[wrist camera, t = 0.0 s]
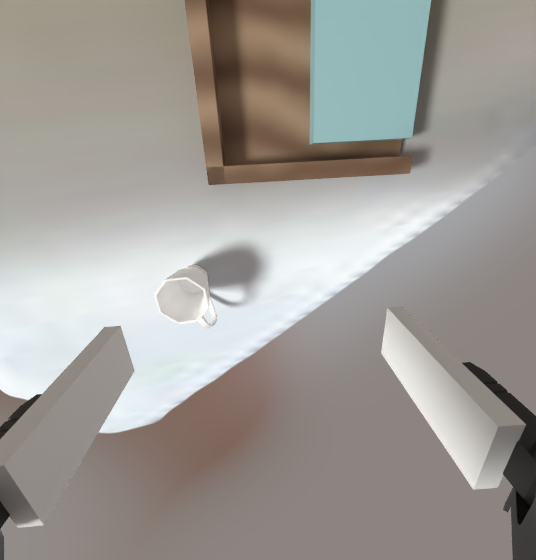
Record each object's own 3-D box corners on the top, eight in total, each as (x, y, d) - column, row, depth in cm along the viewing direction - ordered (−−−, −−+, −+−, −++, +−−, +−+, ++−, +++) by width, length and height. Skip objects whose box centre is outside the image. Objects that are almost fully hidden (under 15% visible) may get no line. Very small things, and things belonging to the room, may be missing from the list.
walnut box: (185, -41, 28) (175, -72, 25) (422, -50, 29) (446, -82, 25) (213, 183, 37) (208, 184, 33) (394, 172, 37) (410, 173, 34)
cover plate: (310, 0, 29) (315, -14, 27) (419, -4, 30) (433, -19, 27) (309, 144, 35) (313, 143, 32) (401, 139, 35) (412, 137, 33)
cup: (200, 247, 40) (188, 266, 33) (236, 299, 44) (232, 327, 36) (162, 269, 41) (142, 292, 34) (199, 318, 45) (189, 349, 38)
